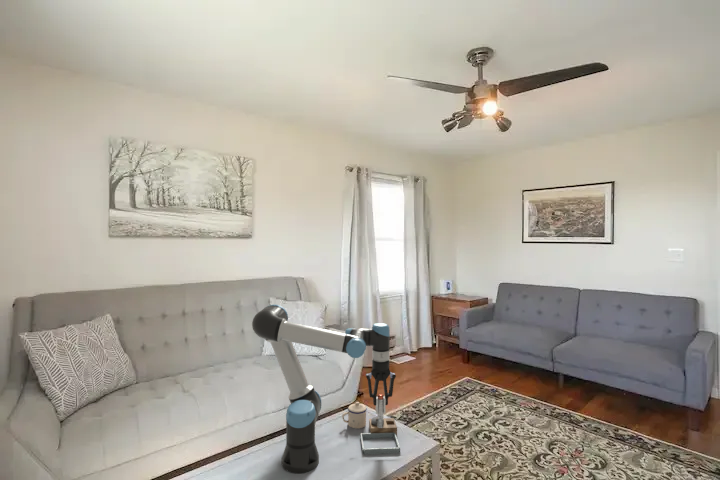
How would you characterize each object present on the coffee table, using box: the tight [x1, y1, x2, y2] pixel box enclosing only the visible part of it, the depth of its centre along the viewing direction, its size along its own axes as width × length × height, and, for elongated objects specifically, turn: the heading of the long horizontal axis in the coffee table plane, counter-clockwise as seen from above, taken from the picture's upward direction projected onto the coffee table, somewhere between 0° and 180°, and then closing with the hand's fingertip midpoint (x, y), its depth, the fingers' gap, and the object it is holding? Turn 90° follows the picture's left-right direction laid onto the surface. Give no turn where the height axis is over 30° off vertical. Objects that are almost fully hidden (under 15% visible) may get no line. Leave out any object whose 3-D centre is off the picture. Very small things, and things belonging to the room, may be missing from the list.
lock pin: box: [377, 393, 385, 428], centre depth 173 cm, size 3×3×14 cm
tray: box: [359, 432, 401, 455], centre depth 173 cm, size 16×13×3 cm
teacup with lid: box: [341, 401, 367, 429], centre depth 191 cm, size 12×9×12 cm
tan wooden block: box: [368, 416, 398, 437], centre depth 185 cm, size 12×9×7 cm
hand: (380, 412), depth 173 cm, fingers closed on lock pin, 3 cm apart
